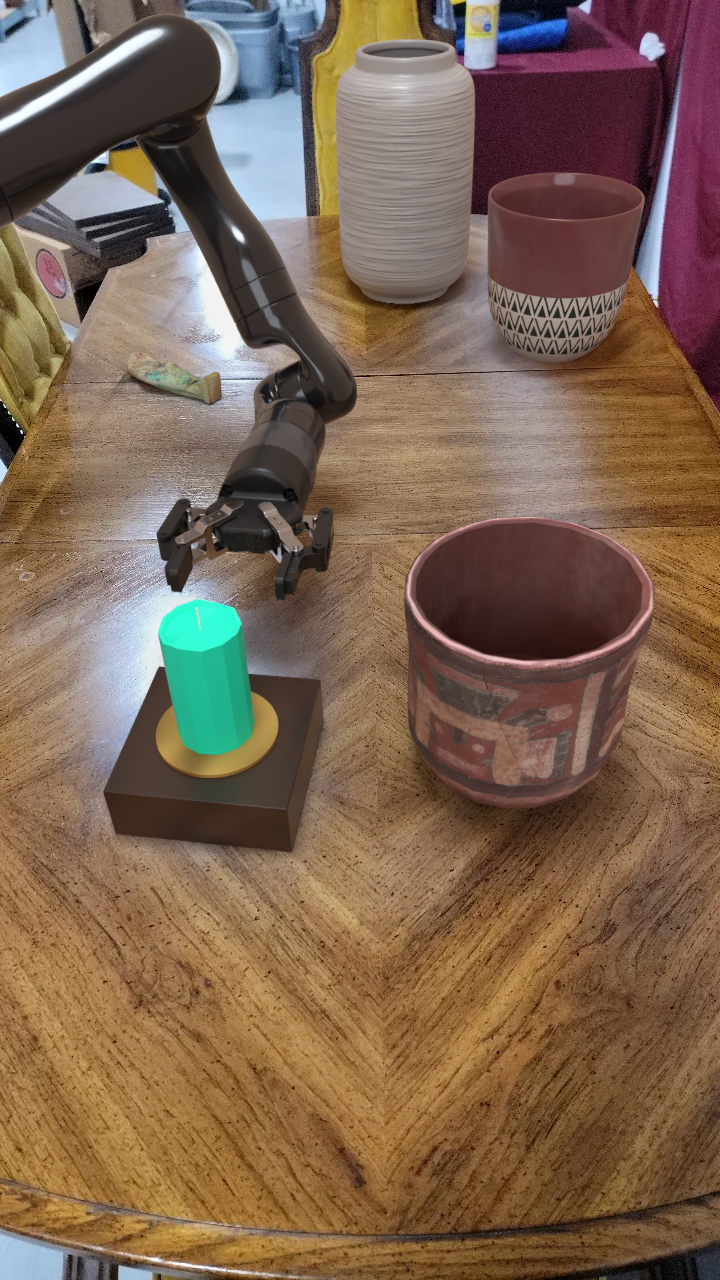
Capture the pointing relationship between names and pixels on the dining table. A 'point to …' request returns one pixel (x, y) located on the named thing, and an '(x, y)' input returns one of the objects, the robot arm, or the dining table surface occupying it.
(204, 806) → the stand
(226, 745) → the candle
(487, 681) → the pottery
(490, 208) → the planter
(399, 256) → the vase
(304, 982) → the dining table surface
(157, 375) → the figurine
